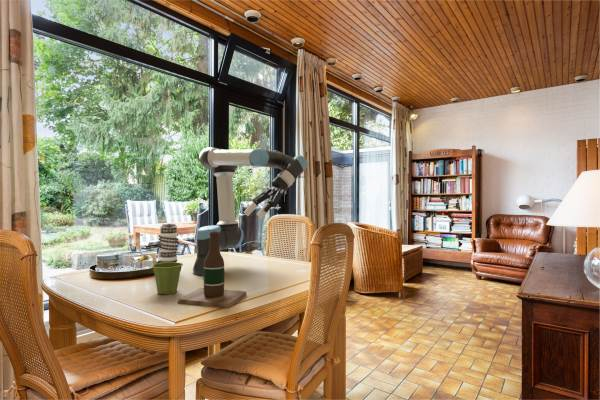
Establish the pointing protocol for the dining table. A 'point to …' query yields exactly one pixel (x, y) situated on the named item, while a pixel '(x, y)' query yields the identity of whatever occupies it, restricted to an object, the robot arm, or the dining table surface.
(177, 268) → the plant pot
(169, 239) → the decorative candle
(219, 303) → the walnut board
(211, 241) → the beer bottle
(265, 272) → the dining table surface
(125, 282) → the dining table surface
